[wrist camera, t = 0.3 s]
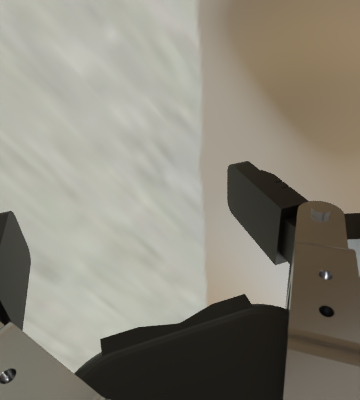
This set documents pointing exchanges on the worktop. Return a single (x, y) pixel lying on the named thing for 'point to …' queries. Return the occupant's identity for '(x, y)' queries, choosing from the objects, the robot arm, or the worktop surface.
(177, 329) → the robot arm
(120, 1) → the worktop surface
